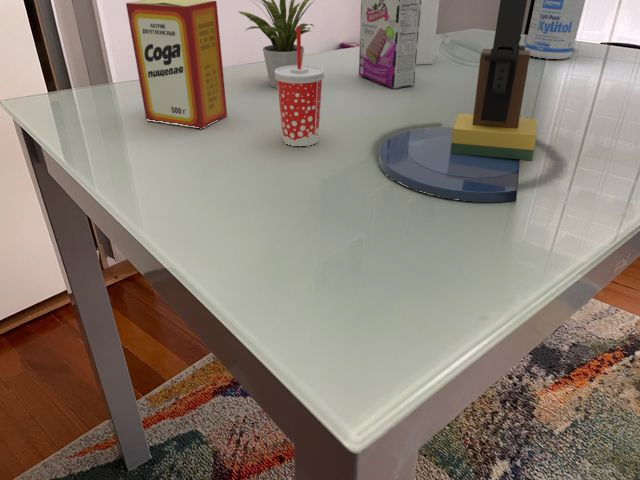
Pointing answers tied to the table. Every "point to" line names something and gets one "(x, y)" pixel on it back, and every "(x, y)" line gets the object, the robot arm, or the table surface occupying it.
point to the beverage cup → (299, 100)
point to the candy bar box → (389, 41)
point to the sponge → (491, 135)
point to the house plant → (280, 35)
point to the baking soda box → (179, 60)
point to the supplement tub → (554, 28)
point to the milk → (427, 31)
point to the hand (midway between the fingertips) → (494, 115)
